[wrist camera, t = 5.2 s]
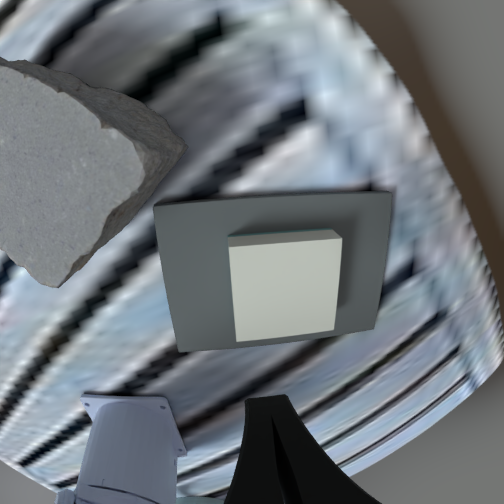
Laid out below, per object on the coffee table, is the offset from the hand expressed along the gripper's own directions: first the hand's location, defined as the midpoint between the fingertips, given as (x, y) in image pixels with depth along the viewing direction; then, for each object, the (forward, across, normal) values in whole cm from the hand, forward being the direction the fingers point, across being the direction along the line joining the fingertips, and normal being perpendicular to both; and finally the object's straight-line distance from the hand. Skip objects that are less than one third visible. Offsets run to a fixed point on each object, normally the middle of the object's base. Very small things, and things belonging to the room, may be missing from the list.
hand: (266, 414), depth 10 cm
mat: (+10, -2, 0) cm, 11 cm away
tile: (+9, +1, 0) cm, 9 cm away
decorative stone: (+11, +10, -9) cm, 17 cm away
